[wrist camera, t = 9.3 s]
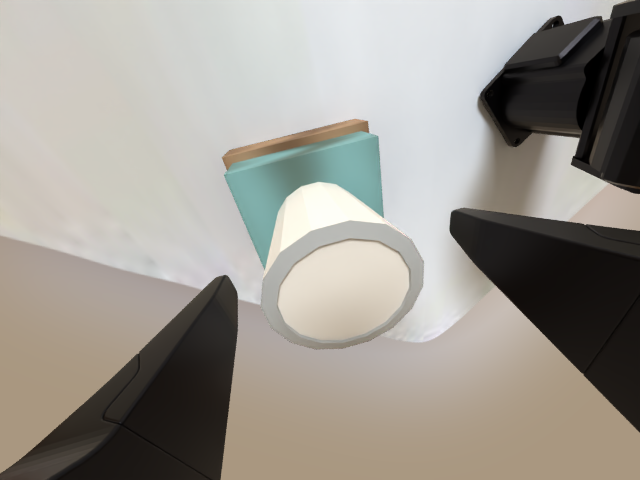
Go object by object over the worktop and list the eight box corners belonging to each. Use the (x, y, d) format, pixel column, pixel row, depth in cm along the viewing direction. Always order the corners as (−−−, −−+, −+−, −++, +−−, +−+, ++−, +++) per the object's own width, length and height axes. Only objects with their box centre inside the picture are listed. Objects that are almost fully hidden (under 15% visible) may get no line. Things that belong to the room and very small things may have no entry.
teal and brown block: (354, 118, 18) (386, 124, 13) (367, 228, 23) (392, 262, 18) (229, 150, 18) (211, 168, 13) (270, 254, 23) (269, 296, 18)
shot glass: (285, 154, 13) (291, 195, 7) (387, 192, 15) (459, 248, 9) (254, 254, 16) (241, 344, 10) (344, 273, 18) (378, 357, 12)
